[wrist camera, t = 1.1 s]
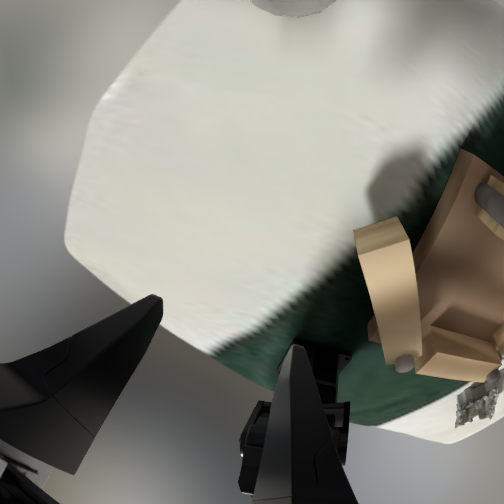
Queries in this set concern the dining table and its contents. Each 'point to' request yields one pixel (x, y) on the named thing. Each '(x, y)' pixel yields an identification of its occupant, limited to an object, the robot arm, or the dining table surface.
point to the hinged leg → (392, 290)
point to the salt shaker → (293, 6)
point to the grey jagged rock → (476, 403)
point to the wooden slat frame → (462, 277)
